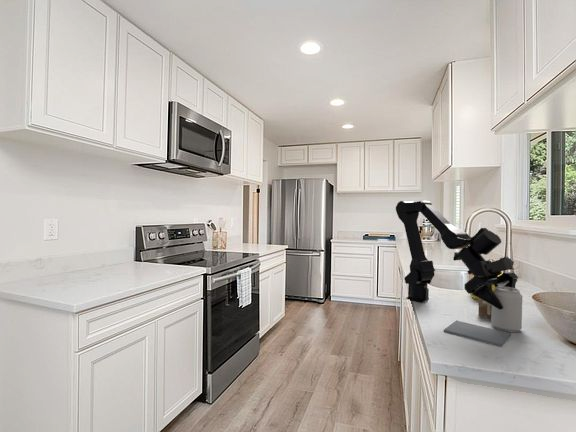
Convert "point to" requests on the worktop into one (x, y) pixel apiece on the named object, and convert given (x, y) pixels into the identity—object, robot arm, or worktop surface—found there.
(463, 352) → the worktop surface
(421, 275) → the robot arm
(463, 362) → the worktop surface
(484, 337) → the mat
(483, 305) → the marked block
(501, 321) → the can
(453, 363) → the worktop surface
